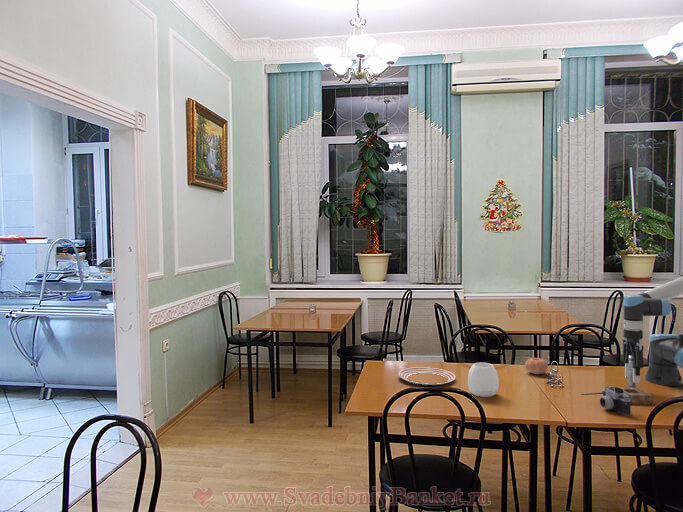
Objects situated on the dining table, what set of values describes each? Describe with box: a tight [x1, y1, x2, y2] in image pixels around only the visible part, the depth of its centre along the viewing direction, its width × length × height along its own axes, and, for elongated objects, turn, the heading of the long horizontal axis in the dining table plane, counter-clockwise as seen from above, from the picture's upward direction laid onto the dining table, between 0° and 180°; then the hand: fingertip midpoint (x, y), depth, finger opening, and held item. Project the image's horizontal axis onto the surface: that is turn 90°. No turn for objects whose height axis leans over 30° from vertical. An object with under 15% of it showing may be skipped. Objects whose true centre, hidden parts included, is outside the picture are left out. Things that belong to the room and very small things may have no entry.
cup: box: [467, 362, 500, 398], centre depth 221 cm, size 13×13×14 cm
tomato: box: [524, 357, 549, 375], centre depth 254 cm, size 11×11×8 cm
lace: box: [580, 391, 603, 396], centre depth 221 cm, size 14×1×1 cm, turn 100°
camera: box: [599, 385, 632, 416], centre depth 201 cm, size 16×8×10 cm, turn 4°
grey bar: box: [627, 355, 637, 387], centre depth 224 cm, size 3×3×16 cm
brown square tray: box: [617, 386, 653, 405], centre depth 213 cm, size 11×11×4 cm
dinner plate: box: [398, 366, 456, 386], centre depth 244 cm, size 27×27×3 cm
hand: (632, 379), depth 224 cm, fingers open, 6 cm apart
